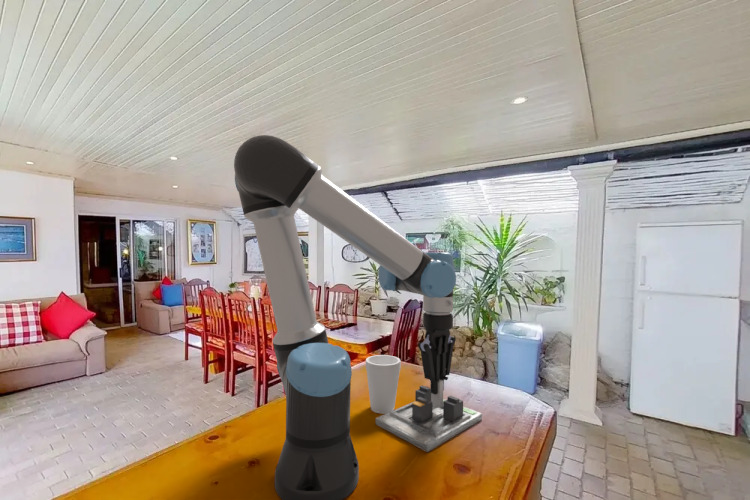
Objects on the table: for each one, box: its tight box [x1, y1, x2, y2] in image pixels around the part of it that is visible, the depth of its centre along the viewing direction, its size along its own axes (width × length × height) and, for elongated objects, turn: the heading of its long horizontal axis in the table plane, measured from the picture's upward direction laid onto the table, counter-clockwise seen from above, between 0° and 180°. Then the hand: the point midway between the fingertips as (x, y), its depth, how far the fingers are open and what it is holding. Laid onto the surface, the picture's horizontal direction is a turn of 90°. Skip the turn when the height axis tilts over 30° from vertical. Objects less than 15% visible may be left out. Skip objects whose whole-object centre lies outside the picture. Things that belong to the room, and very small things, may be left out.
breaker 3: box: [443, 395, 464, 422], centre depth 85 cm, size 4×3×5 cm
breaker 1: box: [414, 385, 431, 401], centre depth 91 cm, size 4×3×5 cm
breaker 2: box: [411, 397, 433, 423], centre depth 83 cm, size 4×3×5 cm
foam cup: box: [365, 354, 402, 415], centre depth 93 cm, size 10×9×13 cm
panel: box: [375, 398, 483, 453], centre depth 85 cm, size 22×16×2 cm
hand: (437, 405), depth 87 cm, fingers closed
